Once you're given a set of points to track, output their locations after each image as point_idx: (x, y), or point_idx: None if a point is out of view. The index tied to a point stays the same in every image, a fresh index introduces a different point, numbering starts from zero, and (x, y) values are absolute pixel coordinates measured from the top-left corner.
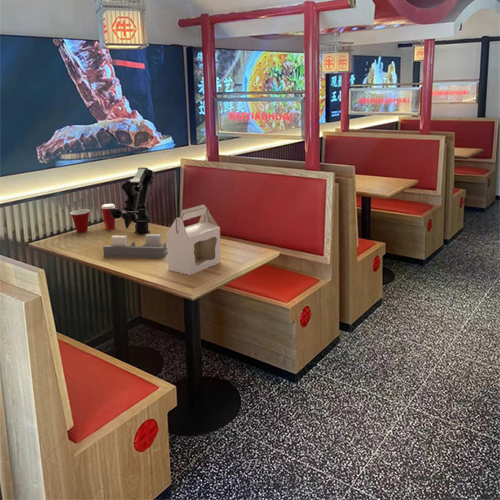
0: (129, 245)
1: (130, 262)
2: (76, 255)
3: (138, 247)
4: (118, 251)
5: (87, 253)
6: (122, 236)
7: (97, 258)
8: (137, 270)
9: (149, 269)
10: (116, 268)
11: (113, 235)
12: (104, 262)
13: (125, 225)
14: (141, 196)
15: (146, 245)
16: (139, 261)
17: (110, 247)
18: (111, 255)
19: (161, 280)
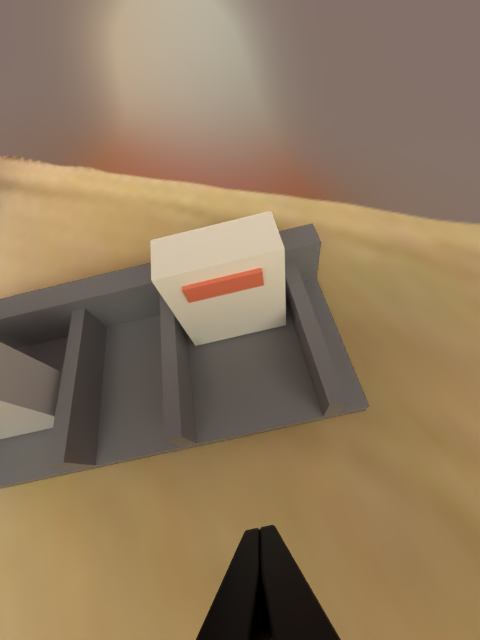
0: (173, 337)
1: (139, 248)
2: (475, 237)
3: (82, 280)
4: None
5: (448, 280)
6: (182, 250)
7: (321, 239)
8: (90, 200)
9: (49, 219)
10: (171, 189)
11: (280, 247)
12: None
13: (283, 544)
14: None
15: (49, 369)
16: (103, 269)
17: None
18: None
19: (9, 174)
